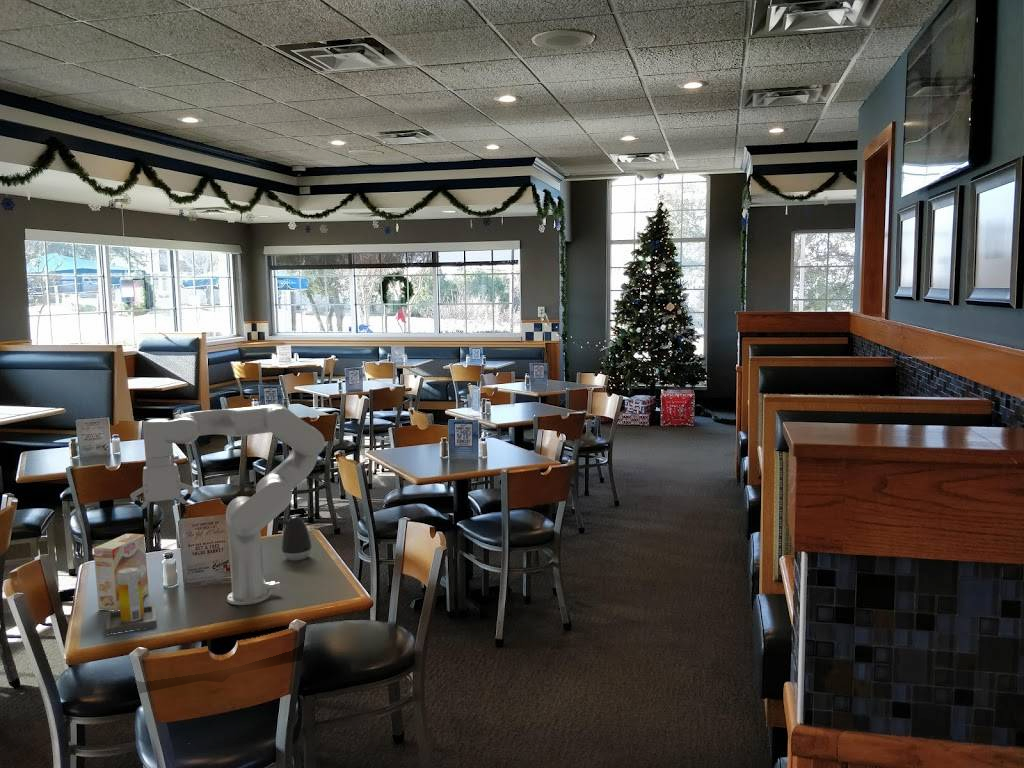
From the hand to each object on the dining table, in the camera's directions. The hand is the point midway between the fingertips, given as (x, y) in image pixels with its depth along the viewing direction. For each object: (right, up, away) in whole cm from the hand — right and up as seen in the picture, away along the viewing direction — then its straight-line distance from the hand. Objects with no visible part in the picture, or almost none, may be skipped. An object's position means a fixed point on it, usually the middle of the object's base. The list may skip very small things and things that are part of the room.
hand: (164, 518), depth 249 cm
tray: (-8, -29, -4) cm, 31 cm away
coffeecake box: (-17, -28, +12) cm, 35 cm away
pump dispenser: (+27, -22, +49) cm, 59 cm away
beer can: (-7, -29, -5) cm, 30 cm away
